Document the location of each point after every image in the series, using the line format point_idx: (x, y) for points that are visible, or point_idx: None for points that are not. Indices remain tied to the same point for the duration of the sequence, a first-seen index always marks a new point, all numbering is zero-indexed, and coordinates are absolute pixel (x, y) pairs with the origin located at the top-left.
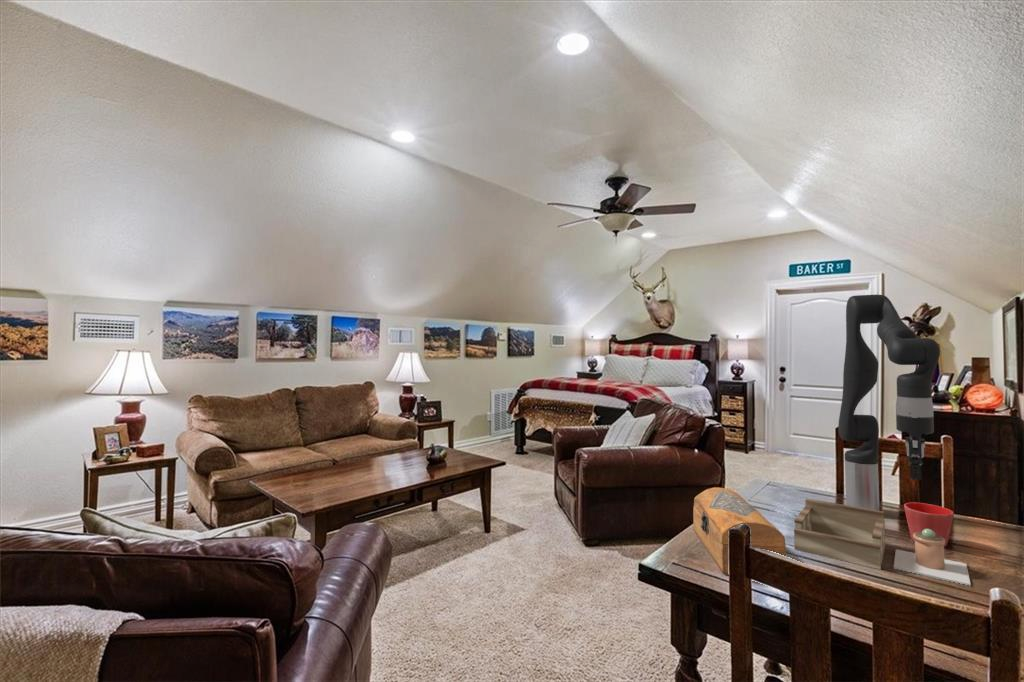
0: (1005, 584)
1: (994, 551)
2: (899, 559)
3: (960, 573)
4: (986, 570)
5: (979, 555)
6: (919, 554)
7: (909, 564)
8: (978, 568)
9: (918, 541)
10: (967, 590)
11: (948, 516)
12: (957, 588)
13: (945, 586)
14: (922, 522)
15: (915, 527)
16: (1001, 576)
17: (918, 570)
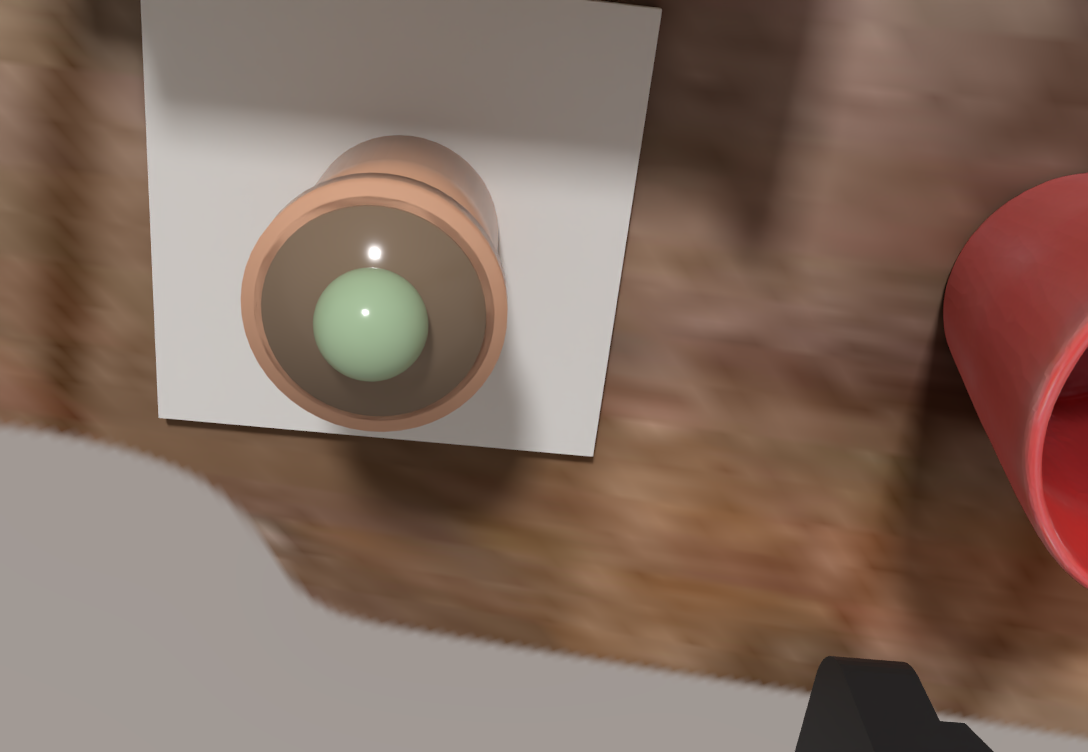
0: (360, 585)
1: (1014, 640)
2: (378, 12)
3: None
4: (569, 539)
5: (877, 552)
6: (322, 179)
7: (300, 80)
8: (581, 505)
9: (283, 208)
10: (70, 382)
11: (1059, 564)
12: (59, 333)
13: (36, 269)
14: (1018, 316)
15: (1041, 236)
16: (502, 591)
17: (197, 132)
